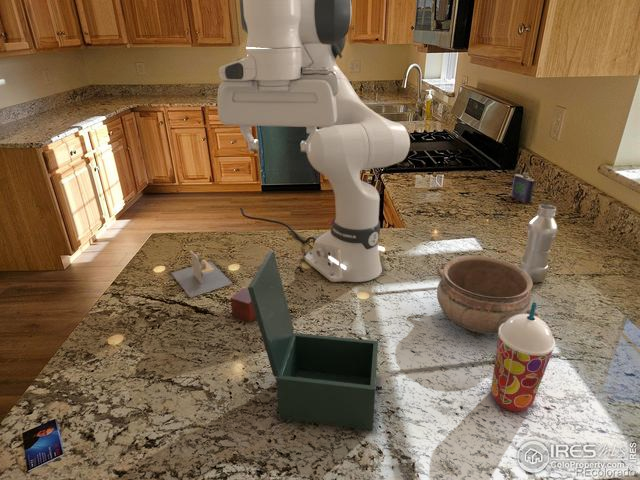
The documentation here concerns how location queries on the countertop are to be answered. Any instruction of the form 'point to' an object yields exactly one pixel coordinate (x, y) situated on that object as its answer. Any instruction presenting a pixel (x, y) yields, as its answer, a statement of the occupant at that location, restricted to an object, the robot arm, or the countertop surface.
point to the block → (243, 306)
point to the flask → (522, 188)
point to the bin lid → (271, 311)
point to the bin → (328, 381)
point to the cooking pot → (483, 292)
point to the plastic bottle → (539, 243)
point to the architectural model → (200, 277)
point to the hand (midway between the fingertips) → (279, 151)
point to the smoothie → (521, 360)
